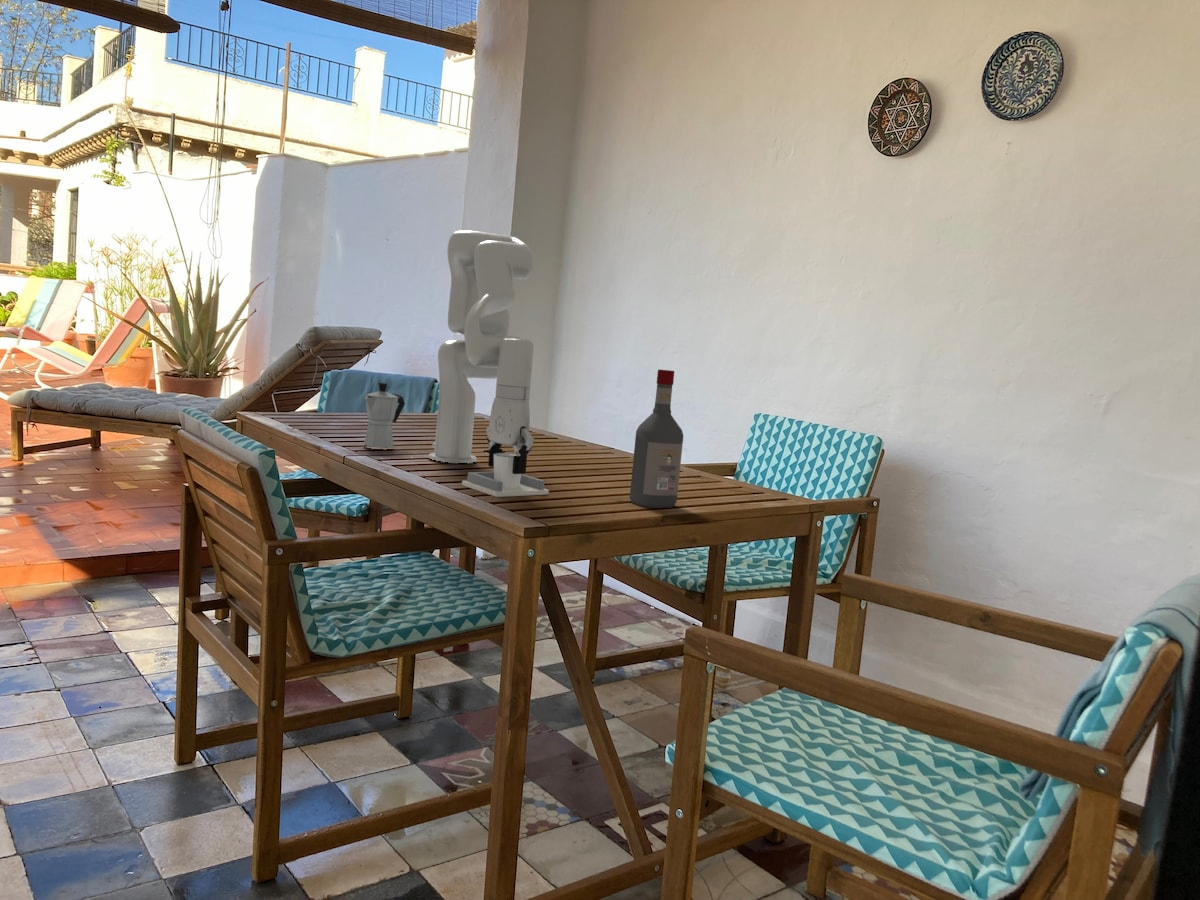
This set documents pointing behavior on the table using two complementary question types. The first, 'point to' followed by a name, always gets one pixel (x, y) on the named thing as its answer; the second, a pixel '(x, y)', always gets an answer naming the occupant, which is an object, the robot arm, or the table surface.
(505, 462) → the white cup
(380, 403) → the coffee maker
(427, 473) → the table surface
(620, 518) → the table surface
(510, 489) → the u rest
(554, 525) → the table surface
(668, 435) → the liquor
